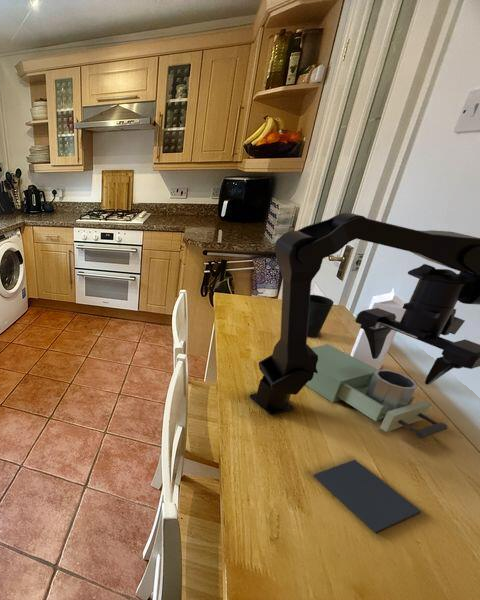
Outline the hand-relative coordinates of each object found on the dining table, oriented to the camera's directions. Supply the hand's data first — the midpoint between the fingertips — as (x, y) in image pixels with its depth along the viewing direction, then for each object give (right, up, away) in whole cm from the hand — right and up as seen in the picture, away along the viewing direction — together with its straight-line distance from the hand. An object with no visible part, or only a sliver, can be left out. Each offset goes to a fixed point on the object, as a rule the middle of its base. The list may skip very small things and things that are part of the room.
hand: (399, 370), depth 66 cm
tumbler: (0, -9, +4) cm, 10 cm away
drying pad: (-18, -18, -12) cm, 28 cm away
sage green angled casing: (-3, -6, +15) cm, 17 cm away
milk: (+11, -3, +21) cm, 24 cm away
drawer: (0, -10, +3) cm, 11 cm away
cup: (+8, +4, +38) cm, 38 cm away
